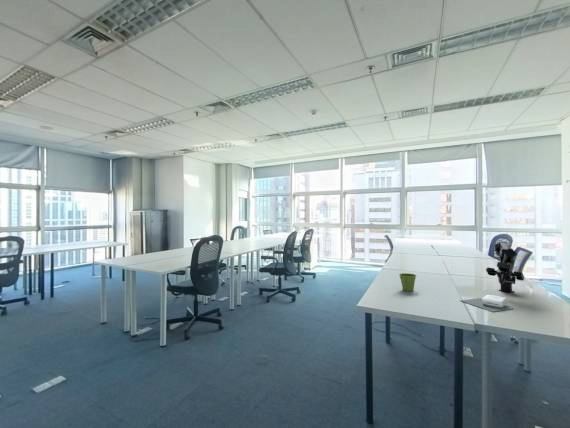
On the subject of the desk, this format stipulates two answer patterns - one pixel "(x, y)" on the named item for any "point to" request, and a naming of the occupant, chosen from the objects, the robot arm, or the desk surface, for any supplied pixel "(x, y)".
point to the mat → (478, 303)
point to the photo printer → (494, 301)
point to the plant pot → (407, 281)
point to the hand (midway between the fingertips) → (500, 284)
